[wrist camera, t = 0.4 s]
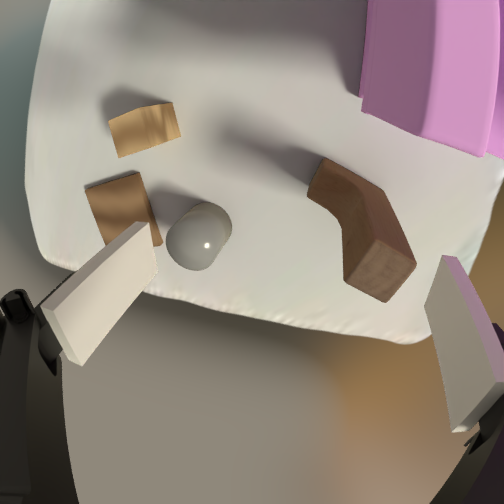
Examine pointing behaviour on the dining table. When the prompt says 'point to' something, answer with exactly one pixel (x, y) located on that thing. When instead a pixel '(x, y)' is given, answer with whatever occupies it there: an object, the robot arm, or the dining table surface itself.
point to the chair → (437, 70)
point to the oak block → (144, 128)
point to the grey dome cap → (199, 236)
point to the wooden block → (364, 231)
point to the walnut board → (121, 207)
